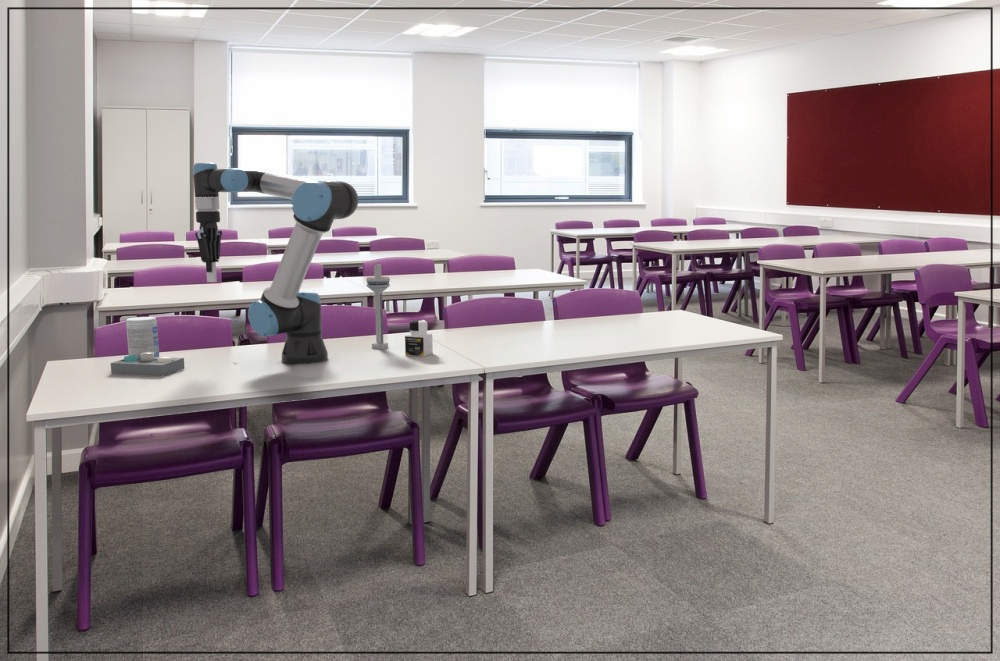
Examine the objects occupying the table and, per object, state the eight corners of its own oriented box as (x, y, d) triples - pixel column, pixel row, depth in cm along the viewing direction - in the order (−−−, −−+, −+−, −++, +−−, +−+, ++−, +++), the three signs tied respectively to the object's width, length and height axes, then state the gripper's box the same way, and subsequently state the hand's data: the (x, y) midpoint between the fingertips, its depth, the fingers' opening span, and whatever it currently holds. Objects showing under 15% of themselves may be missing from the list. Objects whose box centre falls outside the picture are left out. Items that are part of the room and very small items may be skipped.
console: (184, 368, 286) (183, 357, 285) (162, 376, 274) (161, 365, 274) (135, 366, 290) (134, 356, 289) (111, 374, 278) (110, 363, 278)
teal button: (140, 364, 285) (140, 355, 284) (133, 367, 281) (132, 357, 280) (129, 364, 286) (129, 355, 285) (121, 366, 282) (121, 357, 281)
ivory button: (174, 366, 282) (173, 356, 282) (166, 368, 278) (166, 359, 278) (163, 365, 283) (162, 356, 282) (155, 368, 279) (154, 358, 279)
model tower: (383, 350, 315) (381, 266, 310) (363, 349, 318) (361, 265, 314) (396, 346, 322) (393, 264, 318) (376, 345, 326) (374, 263, 321)
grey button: (157, 361, 283) (156, 352, 283) (149, 364, 279) (148, 354, 279) (146, 361, 284) (145, 351, 284) (138, 363, 280) (137, 354, 280)
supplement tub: (162, 362, 297) (159, 318, 294) (132, 365, 291) (129, 321, 289) (155, 357, 305) (152, 315, 302) (126, 361, 299) (123, 317, 297)
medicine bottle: (405, 355, 305) (404, 321, 303) (414, 352, 311) (413, 318, 309) (423, 357, 302) (422, 322, 300) (433, 353, 309) (432, 319, 307)
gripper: (208, 210, 300) (212, 279, 304) (186, 211, 287) (190, 283, 291) (228, 209, 298) (232, 280, 302) (207, 211, 286) (211, 284, 290)
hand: (211, 281), depth 297 cm, fingers closed
